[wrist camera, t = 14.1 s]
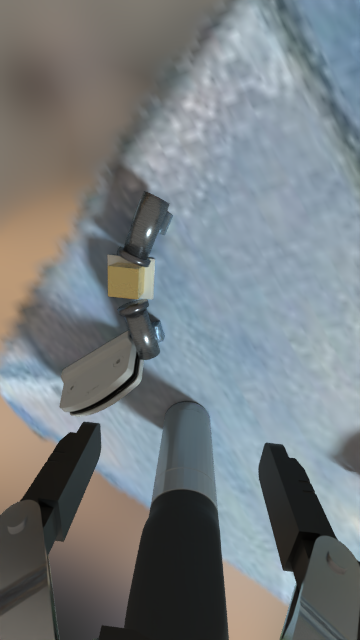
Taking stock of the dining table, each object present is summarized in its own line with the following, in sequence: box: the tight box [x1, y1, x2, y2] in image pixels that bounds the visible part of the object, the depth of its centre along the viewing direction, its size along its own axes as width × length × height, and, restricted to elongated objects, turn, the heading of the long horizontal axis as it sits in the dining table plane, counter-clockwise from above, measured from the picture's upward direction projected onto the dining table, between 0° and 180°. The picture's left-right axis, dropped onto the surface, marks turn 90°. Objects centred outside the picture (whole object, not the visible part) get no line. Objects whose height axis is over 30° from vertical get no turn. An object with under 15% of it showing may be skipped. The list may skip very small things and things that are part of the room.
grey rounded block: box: [60, 331, 144, 417], centre depth 42 cm, size 17×5×10 cm, turn 123°
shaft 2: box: [117, 299, 165, 360], centre depth 39 cm, size 9×5×6 cm, turn 15°
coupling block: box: [108, 262, 145, 299], centre depth 37 cm, size 4×4×4 cm
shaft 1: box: [117, 191, 173, 267], centre depth 34 cm, size 9×5×6 cm, turn 155°
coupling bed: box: [108, 255, 155, 299], centre depth 39 cm, size 7×8×1 cm
